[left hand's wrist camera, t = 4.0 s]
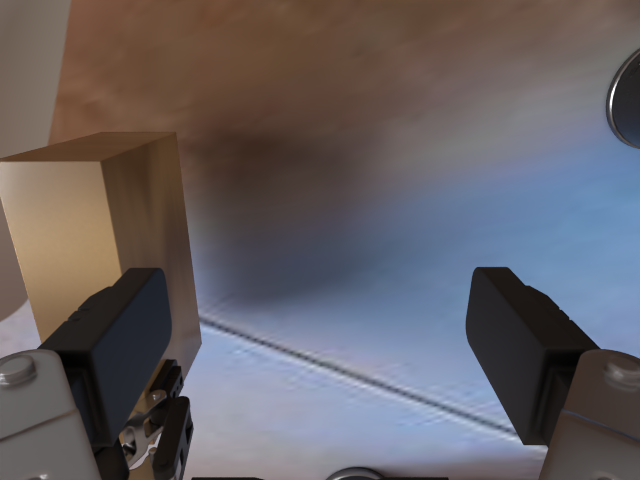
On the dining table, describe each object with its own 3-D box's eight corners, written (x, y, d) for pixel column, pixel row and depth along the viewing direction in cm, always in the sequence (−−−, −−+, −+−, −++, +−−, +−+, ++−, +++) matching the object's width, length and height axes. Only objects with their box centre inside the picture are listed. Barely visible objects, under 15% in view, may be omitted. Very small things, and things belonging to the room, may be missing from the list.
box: (101, 132, 35) (-11, 161, 24) (176, 131, 35) (100, 161, 23) (139, 343, 42) (69, 443, 31) (202, 343, 42) (154, 445, 31)
